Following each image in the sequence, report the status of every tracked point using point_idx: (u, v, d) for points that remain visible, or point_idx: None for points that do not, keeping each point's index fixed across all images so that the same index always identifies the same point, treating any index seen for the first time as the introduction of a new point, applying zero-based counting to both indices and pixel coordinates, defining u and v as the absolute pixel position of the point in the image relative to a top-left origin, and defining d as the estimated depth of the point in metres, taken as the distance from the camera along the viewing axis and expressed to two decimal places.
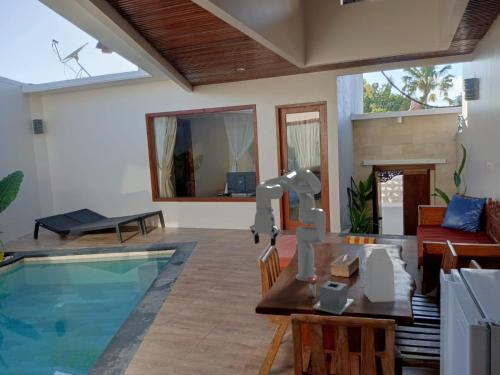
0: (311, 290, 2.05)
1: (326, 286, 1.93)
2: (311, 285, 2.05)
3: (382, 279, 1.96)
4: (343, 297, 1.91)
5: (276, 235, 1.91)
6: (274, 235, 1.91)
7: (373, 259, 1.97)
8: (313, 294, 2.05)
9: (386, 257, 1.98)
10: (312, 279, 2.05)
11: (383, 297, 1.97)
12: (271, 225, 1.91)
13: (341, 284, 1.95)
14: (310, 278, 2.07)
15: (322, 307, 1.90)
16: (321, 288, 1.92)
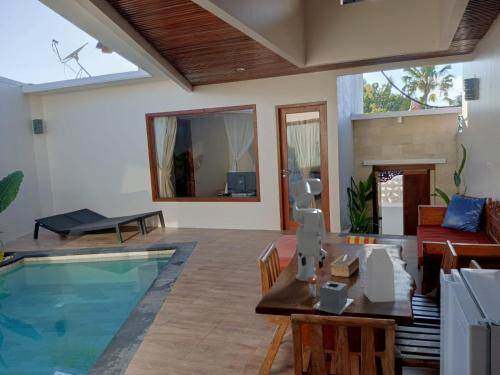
0: (311, 290, 2.05)
1: (326, 286, 1.93)
2: (311, 285, 2.05)
3: (382, 279, 1.96)
4: (343, 297, 1.91)
5: (324, 258, 2.00)
6: (322, 258, 2.00)
7: (373, 259, 1.97)
8: (313, 294, 2.05)
9: (386, 257, 1.98)
10: (312, 279, 2.05)
11: (383, 297, 1.97)
12: (319, 248, 2.00)
13: (341, 284, 1.95)
14: (310, 278, 2.07)
15: (322, 307, 1.90)
16: (321, 288, 1.92)
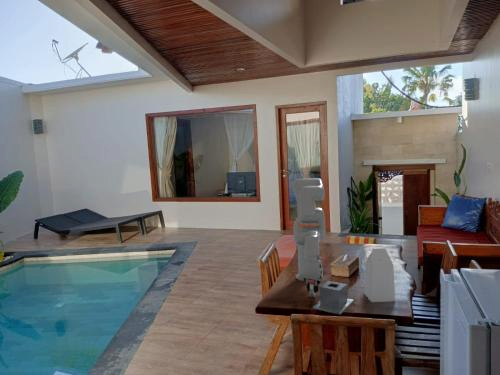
0: (311, 290, 2.05)
1: (326, 286, 1.93)
2: (311, 285, 2.05)
3: (382, 279, 1.96)
4: (343, 297, 1.91)
5: (319, 283, 2.03)
6: (318, 284, 2.03)
7: (373, 259, 1.97)
8: (313, 294, 2.05)
9: (386, 257, 1.98)
10: None
11: (383, 297, 1.97)
12: (319, 272, 2.02)
13: (341, 284, 1.95)
14: None
15: (322, 307, 1.90)
16: (321, 288, 1.92)
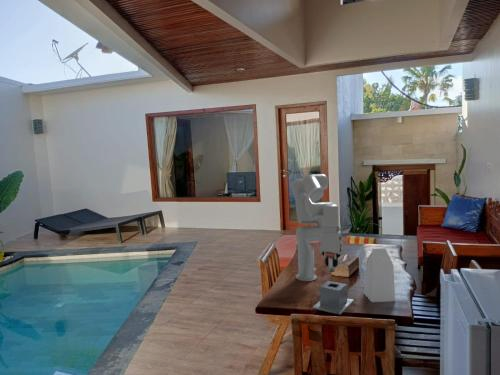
0: (330, 264, 1.92)
1: (326, 286, 1.93)
2: (330, 259, 1.92)
3: (382, 279, 1.96)
4: (343, 297, 1.91)
5: (339, 256, 1.90)
6: (337, 257, 1.90)
7: (373, 259, 1.97)
8: (332, 268, 1.92)
9: (386, 257, 1.98)
10: None
11: (383, 297, 1.97)
12: (339, 244, 1.89)
13: (341, 284, 1.95)
14: None
15: (322, 307, 1.90)
16: (321, 288, 1.92)
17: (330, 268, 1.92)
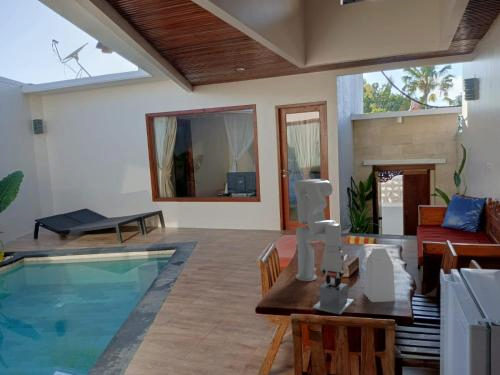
0: (332, 284, 1.92)
1: (326, 286, 1.93)
2: (332, 278, 1.92)
3: (382, 279, 1.96)
4: (343, 297, 1.91)
5: (342, 275, 1.90)
6: (340, 276, 1.90)
7: (373, 259, 1.97)
8: None
9: (386, 257, 1.98)
10: (333, 272, 1.92)
11: (383, 297, 1.97)
12: (341, 263, 1.89)
13: (341, 284, 1.95)
14: (331, 271, 1.94)
15: (322, 307, 1.90)
16: (321, 288, 1.92)
17: None
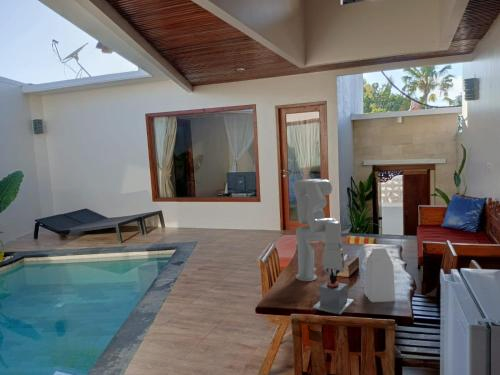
0: None
1: (326, 286, 1.93)
2: None
3: (382, 279, 1.96)
4: (343, 297, 1.91)
5: (338, 272, 1.91)
6: None
7: (373, 259, 1.97)
8: None
9: (386, 257, 1.98)
10: (333, 283, 1.93)
11: (383, 297, 1.97)
12: (341, 261, 1.89)
13: (341, 284, 1.95)
14: None
15: (322, 307, 1.90)
16: (321, 288, 1.92)
17: None
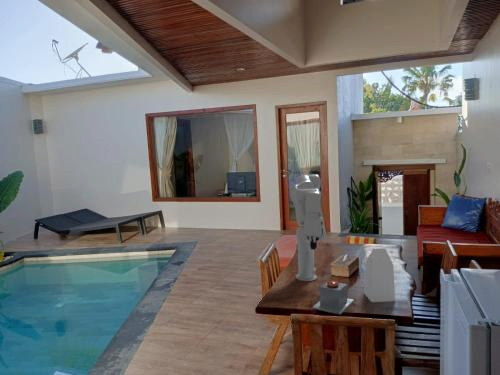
0: None
1: (326, 286, 1.93)
2: None
3: (382, 279, 1.96)
4: (343, 297, 1.91)
5: (318, 239, 2.04)
6: (316, 241, 2.04)
7: (373, 259, 1.97)
8: None
9: (386, 257, 1.98)
10: (333, 283, 1.93)
11: (383, 297, 1.97)
12: (321, 229, 2.01)
13: (341, 284, 1.95)
14: (331, 282, 1.94)
15: (322, 307, 1.90)
16: (321, 288, 1.92)
17: None
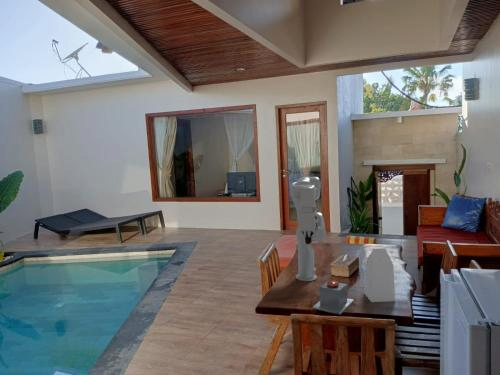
0: None
1: (326, 286, 1.93)
2: None
3: (382, 279, 1.96)
4: (343, 297, 1.91)
5: (312, 234, 2.07)
6: (311, 235, 2.07)
7: (373, 259, 1.97)
8: None
9: (386, 257, 1.98)
10: (333, 283, 1.93)
11: (383, 297, 1.97)
12: (315, 223, 2.05)
13: (341, 284, 1.95)
14: (331, 282, 1.94)
15: (322, 307, 1.90)
16: (321, 288, 1.92)
17: None
